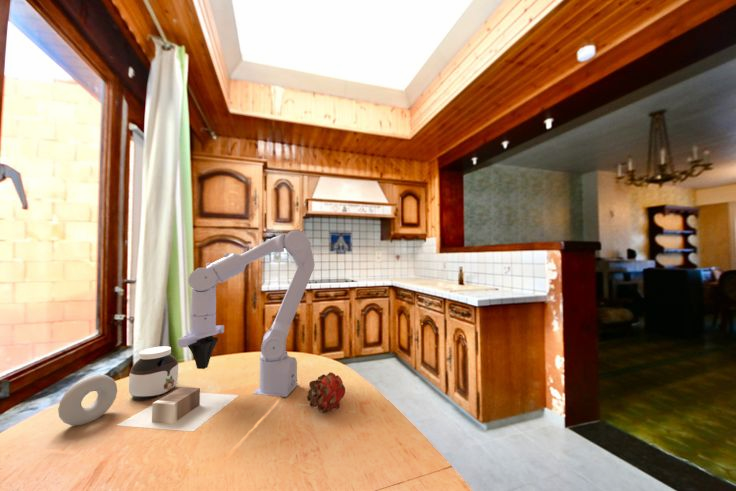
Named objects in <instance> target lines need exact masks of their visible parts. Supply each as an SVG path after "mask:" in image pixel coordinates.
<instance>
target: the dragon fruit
mask: <svg viewBox="0 0 736 491" xmlns="http://www.w3.org/2000/svg"><path fill="white" fill-rule="evenodd" d="M345 394H346V386H345V385H344V382H343V379H342V378H341V377H340V375H336V374H335V373H334V372H328V373H327V374H322V375H319V376H318V377H317V379H315V380H311V381H309V390H308V392H307V396H306V398H307V401H308V402H309V406H310V408H317V409H318V411H319V412H322V413H326V412H328V411H329V409H331V410H335V409H336V410H339V408H340V406H341V403H340V401H341V400H342V399H343V398H344V397H345Z"/></svg>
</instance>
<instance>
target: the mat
mask: <svg viewBox="0 0 736 491" xmlns="http://www.w3.org/2000/svg"><path fill="white" fill-rule="evenodd" d="M239 396H240V395H239V394H227V393H211V392H210V393H209V392H208V393H207V392H200V405H199V406H198V407H196V408H195V409H193V410H192V411H190V412H189V413H187V414H186V415H185V416H183V417H182V418H180V419H179V420H177V421H176V422H174V423H173V424H170V423H156V422H152V405H150V406H148V407H146V408H145V409H143V410H141V411H140V412H139V411H138V413H136V414H134V415H132V416H130V417H129V418H127V419H125V420H123V421H122V422H120V423H117V424H115V426H117V427H127V428H128V427H130V428H141V429H144V428H145V429H152V430H153V429H155V430H168V431H181V432H193V433H194V432H195V431H196V430H197V429H199V428H200V427H201V426H202V425H204V424H205V423H206V422H207V421H209V420H210V419H212V418H213V417H215V415H216V414H218V413H219V412H220V411H222V409H224V408H225V407H226V406H228V405H229V404H230V403H231V402H233V401H234V400H235V399H236V398H238V397H239Z"/></svg>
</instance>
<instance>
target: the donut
mask: <svg viewBox="0 0 736 491" xmlns="http://www.w3.org/2000/svg"><path fill="white" fill-rule="evenodd" d="M92 392H96V393H97V397H96V399H95V401H94V402H93V403H92V404H90V405H89V406H87V407H86V406H85V407H83V406H82V402H83V400H84V398H86V395H88V394H89V393H92ZM117 394H118V386H117V383H116V381H115V379H114V378H112V377H110V376H109V375H106V374H105V375H104V374H92V375H89V376H86V377H84V378H82V379H80V380H79V381H77V382H76V383H73V384H72V386H70V387H69V389H67V390H66V392H64V394H63V396H62V398H61V399H60V402H59V404H58V405H59V406H58V408H57V411H58V416H59V418H60V420H61V421H62V422H63V423H64V424H67V425H69V426H83V425H87V424H88V423H91V422H94V421H95V420H98V419H100V417H102V416H103V415H104V414H106V412H108V411H109V409H110V408H111V406H113V404H114V402H115V400H116V399H117Z"/></svg>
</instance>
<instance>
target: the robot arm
mask: <svg viewBox="0 0 736 491" xmlns="http://www.w3.org/2000/svg"><path fill="white" fill-rule="evenodd" d="M285 251H286V252H288V253H289V255H290V256H291V257H292V259H293V261H294V263H295V265H296V269H295V271H294V273H293V276H292V278H291V280H290V282H289V285H288V287H287V290H286V293H285V295H284V297H283V298H282V302H281V305H280V307H279V309H278V311H277V313H276V316H275V319H274V320H273V322H272V324H271V327H270V328H269V329H268V330H267V331H266V332H265V333H264V334H263V338H262V343H261V345H260V352H261V354H260V356H259V386H258V388H257V389H255V391H253V392H252V394H253V395H258V396H259V395H260V396H275V397H276V396H277V397H278V396H279V397H281V398H286V397H288V396H289V395H291V393H292V392H293V390H294V389H295V388H296V387H297V386H298V385H299V383H298V362H297V358H296V357H294V356H293V357H292V356H290V355H288V351H287V350H286V349H287V338H288V336H289V331H290V328H291V326H292V323H293V320H294V318H295V316H296V313H297V310H298V309H299V306H300V303H301V300H302V298H303V296H304V293H305V291H306V289H307V287H308V284H309V281H310V279H311V277H312V274H313V271H314V269H315V264H316V263H315V259H314V254H313V250H312V242H311V241H310V240H309V238H308V236H307V234H305V233H304V231H301V230H299V229H294V230H291V231H289V232H287V233H282V234H279V235H277V236H275V237H274V236H273V237H272V238H270V239H268V240H266V241H264V242H262V243H260V244H258V245H256V246H255V247H253V248H251V249H249V250H247V251H245V252H243V253H241V254H239V253H235V252H232V253H228V252H227V253H224V254H223V255H222V256H223V257H222V258H220V259H218V260H216V261H214V262H207V263H206V264H205V266H206V267H198V268H196V269H195V270H194V271H192V272H191V273H190V274H189V277H188V284H189V286H190V287H191V293H190V294H191V297H190V320H189V321H190V326H189V327H190V328H189V331H187V332H186V334H185V335H183V336H182V337H180V338H177V348H188V349H189V350H190V352H191V354H192V356H193V358H194V362H195V366H196V370H197V369H198V370H204V369H205V370H206V369H207V368H208V367H209V364H210V360H211V357H212V353H213V350H214V349H215V346H216V345H217V343H218V341H219V337H218V336H217V337H216V336H215V335H218V334H223V333H224V332H225V325H223V324H222V325H219V324H218V325H217V324H216V323H217V322H216V321H217V295H216V294H217V290H216V289H217V287H216V286H217V285H218V283H221V284H222V283H224V282H225V281H228V280H229V279H231V278H234V277H235V276H238V275H240V274H241V273H244V272H245V269H246V266H247V265H249V264H251V263H252V262H255V261H257V260H259V259H261V258H264V257H265V256H268V255H270V254H272V253H284V252H285ZM214 336H215V337H214Z"/></svg>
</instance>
